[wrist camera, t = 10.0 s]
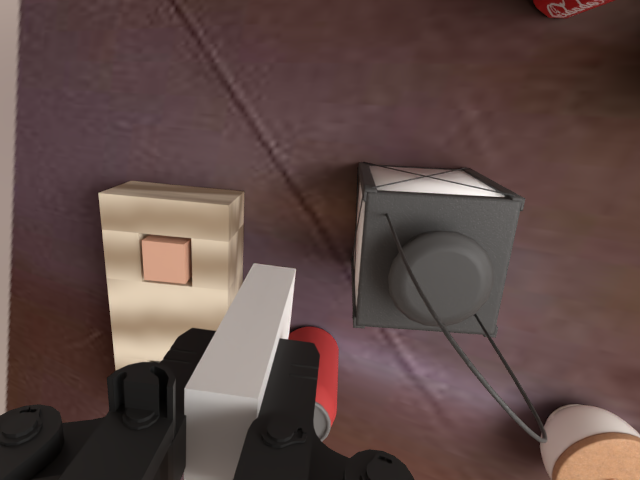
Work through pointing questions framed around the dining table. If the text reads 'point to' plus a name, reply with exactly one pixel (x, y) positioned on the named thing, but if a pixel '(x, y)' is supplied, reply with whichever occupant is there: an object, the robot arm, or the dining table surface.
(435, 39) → the dining table surface
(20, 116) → the dining table surface
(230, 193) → the birch block
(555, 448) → the lidded jar
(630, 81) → the dining table surface
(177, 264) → the terracotta peg
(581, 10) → the soda can
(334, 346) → the beer can
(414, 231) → the lantern
